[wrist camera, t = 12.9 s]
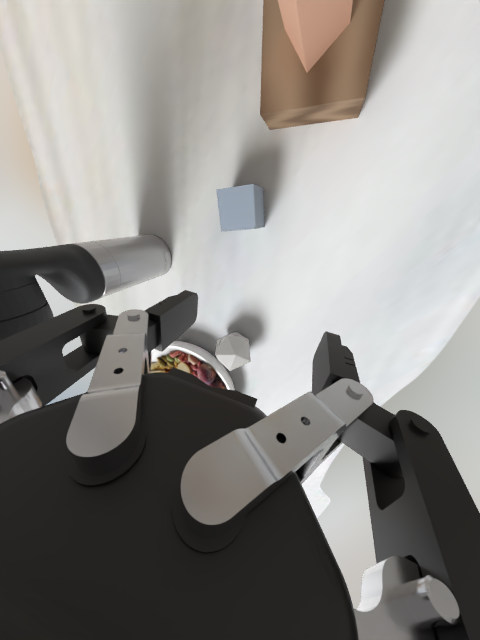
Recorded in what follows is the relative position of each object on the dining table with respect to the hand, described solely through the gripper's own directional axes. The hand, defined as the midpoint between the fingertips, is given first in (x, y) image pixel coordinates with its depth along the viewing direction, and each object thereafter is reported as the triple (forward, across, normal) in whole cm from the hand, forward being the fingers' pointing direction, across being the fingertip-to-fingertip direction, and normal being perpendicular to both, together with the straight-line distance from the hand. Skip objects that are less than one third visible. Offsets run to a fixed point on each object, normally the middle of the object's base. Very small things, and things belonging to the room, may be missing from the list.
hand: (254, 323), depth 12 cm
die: (+30, +7, +24) cm, 39 cm away
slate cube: (+30, +10, -5) cm, 32 cm away
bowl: (+30, +19, +43) cm, 56 cm away
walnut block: (+30, +4, -23) cm, 38 cm away
